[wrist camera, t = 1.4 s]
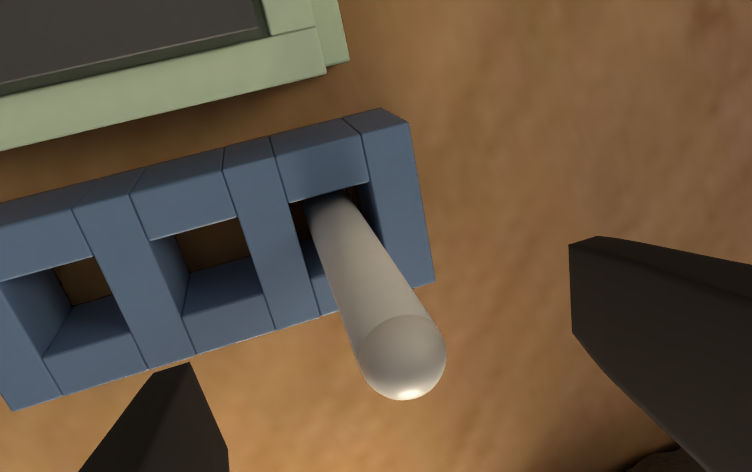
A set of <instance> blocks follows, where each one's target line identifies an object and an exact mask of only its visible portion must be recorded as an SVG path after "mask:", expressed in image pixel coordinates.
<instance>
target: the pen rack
mask: <svg viewBox="0 0 752 472" xmlns="http://www.w3.org/2000/svg"><path fill="white" fill-rule="evenodd" d="M355 185H356V186H357V191H358V195H359V200H360V204H361V208H362V213H363V217H364V219H365V220H366V222H367V223H368V225H369V226H370V228H371V229H372V231H373V232H374V234H375V235H376V237H377V238H378V240H379V241H380V243H381V244H382V246H383V247H384V249H385V250H386V251H387V253H388V254H389V256H390V257H391V259H392V260H393V262H394V263H395V265H396V266H397V268H398V269H399V271H400V272H401V274H402V275H403V277H404V278H405V280H406V281H407V283H408V284H409V286H410V287H411V289H413V288H417V287H420V286H423V285H426V284H429V283H433V282H435V274H434V268H433V262H432V256H431V251H430V245H429V239H428V233H427V227H426V221H425V215H424V209H423V204H422V198H421V192H420V186H419V180H418V174H417V168H416V163H415V157H414V151H413V145H412V139H411V133H410V127H409V123H408V122H407V121H405V120H403V119H401V118H400V117H398V116H396V115H394V114H392V113H390V112H388V111H386V110H385V109H383V108H377V109H373V110H369V111H365V112H361V113H357V114H353V115H349V116H345V117H342V119H341V118H337V119H333V120H329V121H325V122H321V123H317V124H313V125H309V126H305V127H301V128H297V129H293V130H289V131H285V132H281V133H277V134H273V135H270V136H269V137H268V136H265V137H261V138H257V139H253V140H249V141H245V142H241V143H237V144H233V145H229V146H226V147H225V149H224V148H218V149H214V150H210V151H206V152H202V153H198V154H194V155H190V156H186V157H182V158H178V159H174V160H170V161H166V162H162V163H158V164H154V165H150V166H148V167H147V168H146V167H141V168H137V169H133V170H129V171H125V172H121V173H117V174H113V175H109V176H105V177H101V178H100V179H94V180H90V181H86V182H82V183H78V184H74V185H70V186H66V187H62V188H58V189H54V190H50V191H46V192H42V193H38V194H34V195H30V196H26V197H22V198H18V199H17V200H16V201H15V200H10V201H6V202H2V203H0V394H1V395H2V397H3V399H4V400H5V402H6V403H7V405H8V406H9V408H10V409H11V411H18V410H21V409H24V408H27V407H31V406H34V405H37V404H40V403H44V402H47V401H50V400H53V399H57V398H60V397H62V396H63V395H64V396H67V395H70V394H73V393H77V392H80V391H83V390H86V389H90V388H93V387H96V386H99V385H102V384H106V383H109V382H112V381H115V380H119V379H122V378H125V377H128V376H132V375H135V374H138V373H141V372H144V371H147V370H148V369H150V370H151V369H155V368H158V367H161V366H164V365H168V364H171V363H174V362H177V361H180V360H184V359H187V358H190V357H193V356H196V354H203V353H206V352H209V351H212V350H215V349H219V348H222V347H225V346H228V345H232V344H235V343H238V342H241V341H245V340H248V339H251V338H254V337H258V336H261V335H264V334H267V333H270V332H274V331H275V329H276V330H277V331H278V330H281V329H284V328H288V327H291V326H294V325H297V324H301V323H304V322H307V321H310V320H314V319H317V318H320V315H321V316H325V315H328V314H331V313H334V312H338V311H339V310H338V307H337V304H336V302H335V299H334V296H333V293H332V291H331V288H330V285H329V282H328V280H327V277H326V274H325V271H324V268H323V266H322V263H321V260H320V257H319V255H318V252H317V249H316V246H315V244H314V241H313V238H312V239H309V240H305V241H302V242H300V243H299V240H298V237H297V233H296V230H295V226H294V223H293V219H292V216H291V212H290V209H289V205H288V203H292V202H296V201H300V200H303V199H307V198H311V197H314V196H318V195H322V194H325V193H329V192H333V191H336V190H340V189H344V188H348V187H351V186H355ZM287 201H288V202H287ZM237 216H238V219H239V222H240V225H241V228H242V231H243V234H244V237H245V240H246V243H247V246H248V248H249V251H250V254H251V256H248V257H245V258H241V259H238V260H234V261H231V262H227V263H224V264H220V265H217V266H213V267H210V268H206V269H203V270H199V271H196V272H192V273H190V274H189V271H188V269H187V266H186V264H185V261H184V259H183V256H182V254H181V251H180V249H179V246H178V244H177V241H176V239H175V236H174V234H178V233H182V232H185V231H189V230H193V229H196V228H200V227H204V226H208V225H211V224H215V223H219V222H222V221H226V220H230V219H233V218H236V217H237ZM92 256H95V258H96V260H97V263H98V265H99V267H100V269H101V271H102V273H103V275H104V277H105V279H106V281H107V283H108V285H109V287H110V289H111V292H112V294H113V295H111V296H108V297H104V298H101V299H97V300H94V301H90V302H87V303H83V304H80V305H76V306H74V307H73V308H72V306H71V304H70V302H69V300H68V298H67V296H66V295H65V293H64V291H63V289H62V287H61V285H60V283H59V281H58V279H57V278H56V276H55V274H54V272H53V270H52V268H53V267H57V266H61V265H64V264H68V263H72V262H75V261H79V260H83V259H86V258H90V257H92Z"/></svg>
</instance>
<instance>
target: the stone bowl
mask: <svg viewBox="0 0 752 472" xmlns="http://www.w3.org/2000/svg"><path fill="white" fill-rule="evenodd" d="M626 472H707V471H706V470H705V469H704V468H703V467H702V466H701V465H700V464H699V463H698V462H697V461H696V460H695V459H694V458H692V457H691V456H690V455H689V454H688V453H687V452H686V451H685V450H684V449H683V448H682V447H680V448H679V449H678V450H676V451H672V452H664V453H655V454H651V455H649V456H647V457H645V458H644V460H642V461H639V462H638V463H637V464H636V465H635V466H634V468H630V469H628V470H627V471H626Z"/></svg>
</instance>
